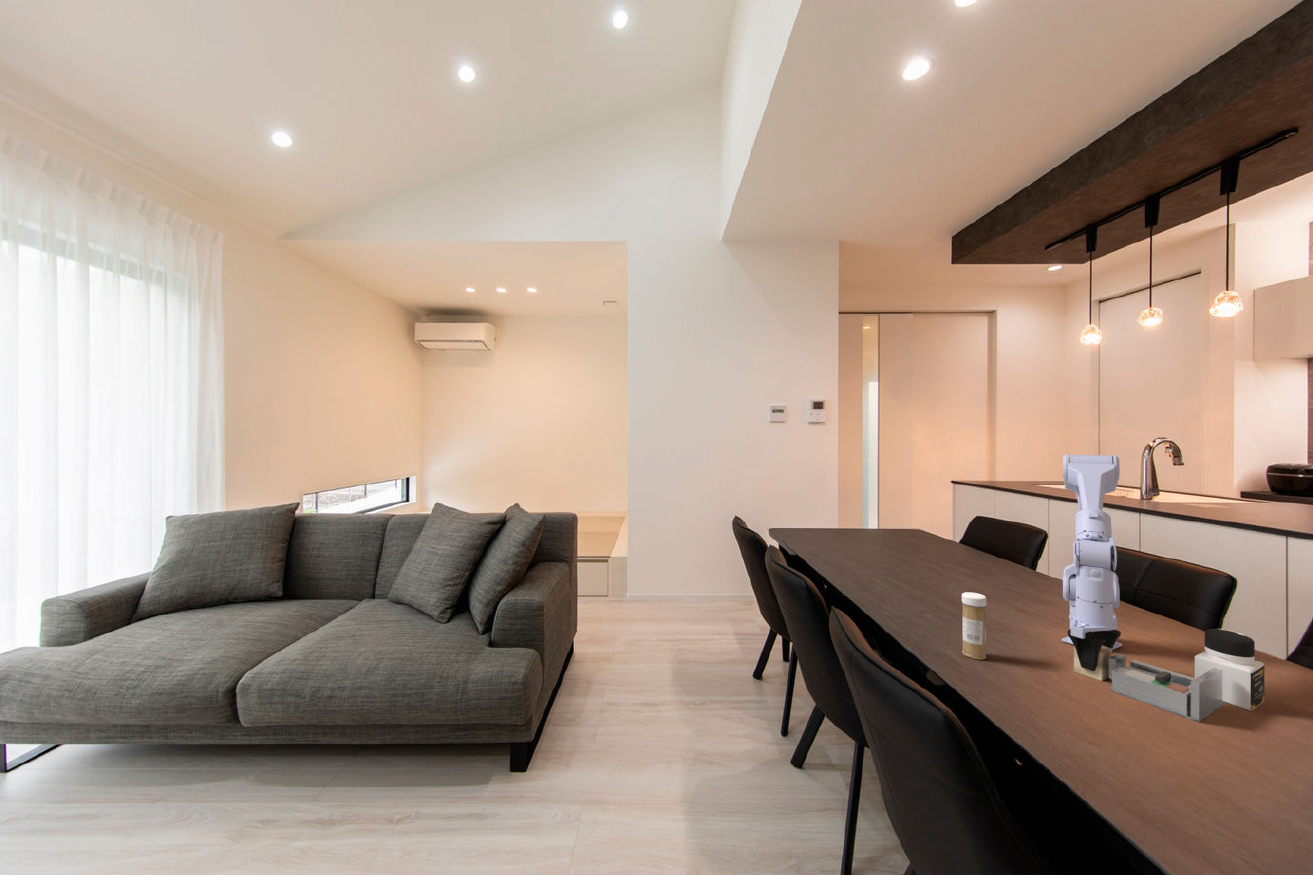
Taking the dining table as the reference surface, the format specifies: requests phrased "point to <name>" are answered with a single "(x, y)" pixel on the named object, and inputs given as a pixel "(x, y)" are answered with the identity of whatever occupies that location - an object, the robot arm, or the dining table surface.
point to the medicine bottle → (1233, 667)
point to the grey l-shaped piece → (1120, 661)
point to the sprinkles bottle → (974, 625)
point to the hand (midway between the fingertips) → (1094, 666)
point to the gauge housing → (1171, 690)
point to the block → (1102, 665)
